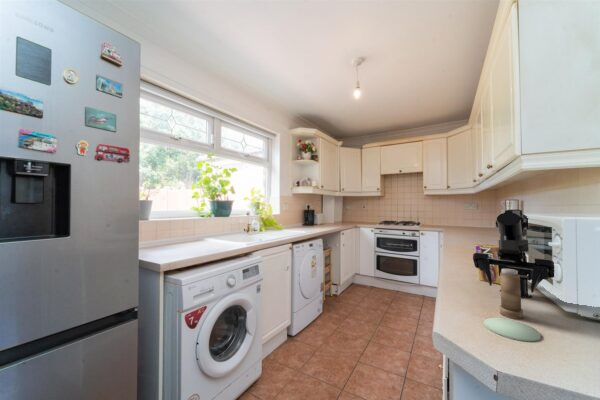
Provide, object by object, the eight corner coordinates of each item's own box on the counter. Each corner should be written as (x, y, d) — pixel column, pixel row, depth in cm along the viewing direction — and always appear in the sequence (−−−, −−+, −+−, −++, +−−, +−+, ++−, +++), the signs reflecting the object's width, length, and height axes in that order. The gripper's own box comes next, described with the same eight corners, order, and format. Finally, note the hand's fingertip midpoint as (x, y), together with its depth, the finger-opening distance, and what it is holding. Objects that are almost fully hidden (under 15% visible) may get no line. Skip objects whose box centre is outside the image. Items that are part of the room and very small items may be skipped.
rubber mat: (513, 319, 68) (513, 317, 68) (554, 341, 57) (554, 338, 57) (474, 319, 68) (474, 318, 68) (507, 341, 57) (507, 339, 57)
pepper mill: (512, 311, 73) (510, 267, 73) (528, 319, 68) (526, 272, 68) (495, 311, 73) (493, 267, 73) (510, 319, 68) (508, 272, 68)
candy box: (508, 283, 97) (504, 245, 98) (503, 285, 95) (499, 246, 96) (484, 278, 105) (480, 243, 106) (478, 280, 103) (474, 244, 104)
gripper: (472, 228, 81) (467, 267, 73) (552, 231, 68) (557, 279, 60) (477, 248, 87) (473, 287, 79) (552, 255, 74) (556, 301, 66)
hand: (510, 288), depth 71 cm, fingers open, 9 cm apart
